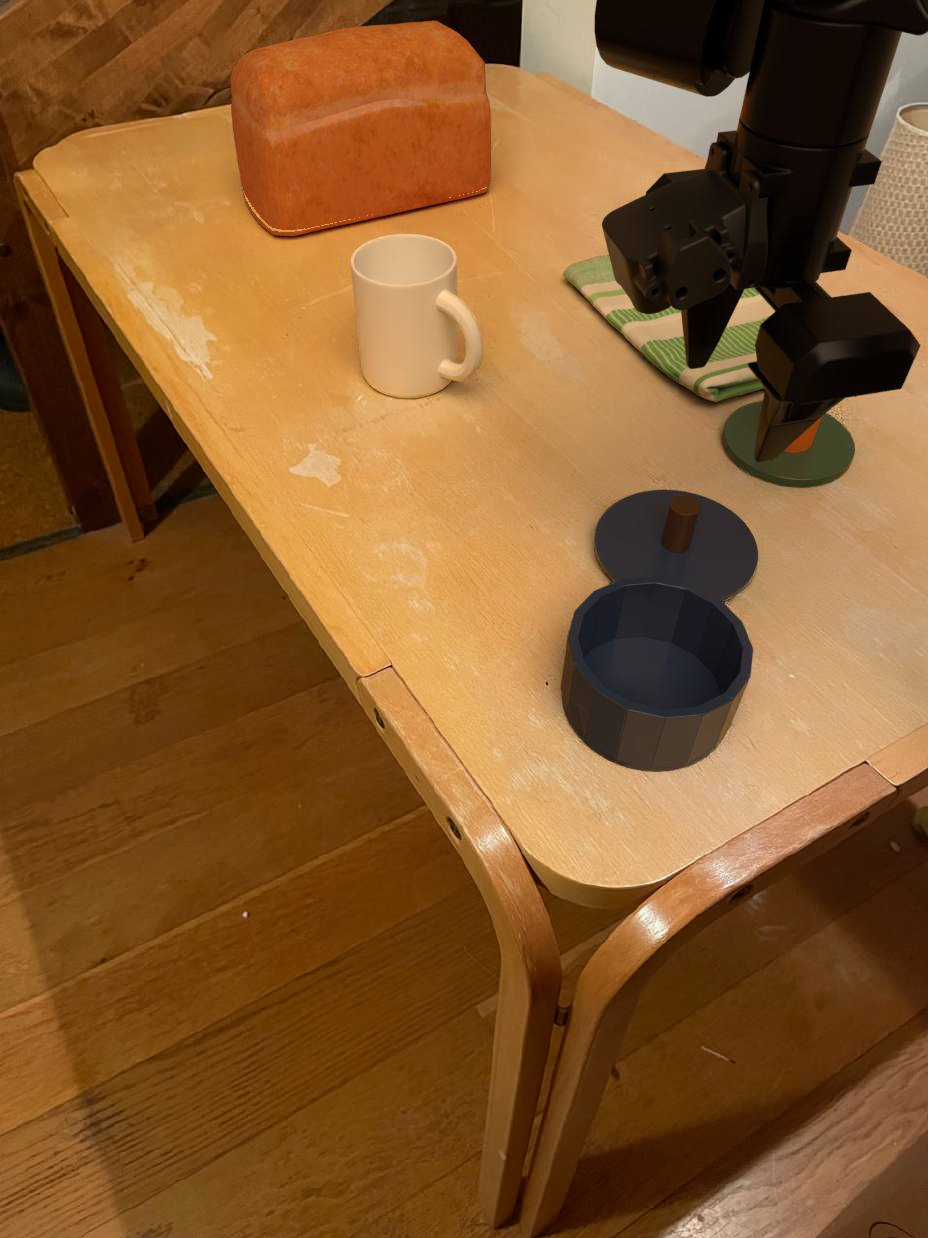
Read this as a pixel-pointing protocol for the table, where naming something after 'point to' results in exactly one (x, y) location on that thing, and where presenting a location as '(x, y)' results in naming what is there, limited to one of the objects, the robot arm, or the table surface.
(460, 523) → the table surface
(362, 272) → the mug
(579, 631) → the pot
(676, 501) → the lid
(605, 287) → the dish towel
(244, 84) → the bread
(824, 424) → the saucer
